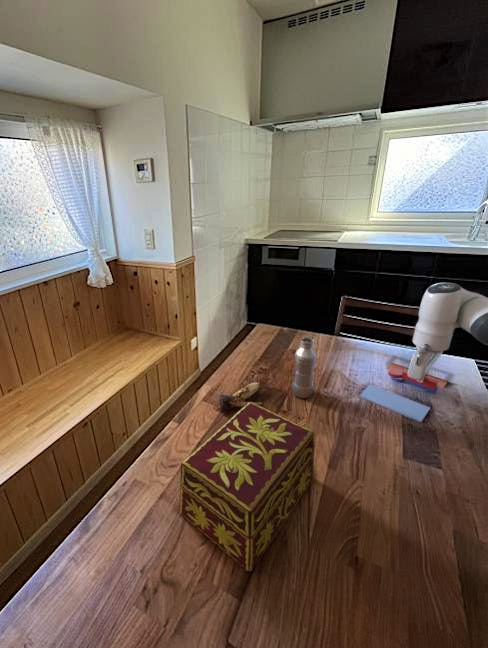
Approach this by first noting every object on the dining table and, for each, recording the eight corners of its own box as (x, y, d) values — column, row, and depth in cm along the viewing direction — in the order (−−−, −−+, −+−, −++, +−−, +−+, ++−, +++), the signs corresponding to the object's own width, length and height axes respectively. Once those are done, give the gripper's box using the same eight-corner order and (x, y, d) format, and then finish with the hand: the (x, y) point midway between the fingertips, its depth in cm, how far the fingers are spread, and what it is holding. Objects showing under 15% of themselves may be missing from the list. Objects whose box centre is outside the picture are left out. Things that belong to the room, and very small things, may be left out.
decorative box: (250, 574, 62) (251, 521, 56) (178, 513, 74) (173, 463, 68) (314, 478, 80) (320, 429, 74) (248, 441, 92) (249, 397, 86)
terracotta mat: (450, 377, 112) (451, 376, 112) (443, 388, 107) (444, 386, 107) (394, 359, 124) (395, 358, 124) (386, 368, 119) (386, 367, 119)
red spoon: (437, 385, 101) (439, 379, 100) (433, 391, 99) (435, 385, 98) (390, 369, 110) (392, 363, 109) (385, 375, 108) (387, 368, 107)
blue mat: (429, 409, 99) (430, 407, 99) (421, 422, 94) (421, 421, 94) (369, 385, 111) (370, 384, 111) (359, 396, 106) (359, 395, 106)
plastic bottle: (292, 399, 107) (296, 344, 99) (291, 387, 113) (295, 334, 104) (313, 402, 105) (320, 346, 97) (311, 389, 111) (317, 335, 103)
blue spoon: (438, 389, 107) (439, 383, 106) (434, 395, 104) (436, 389, 103) (393, 374, 116) (394, 368, 115) (389, 379, 114) (390, 373, 113)
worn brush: (233, 425, 99) (273, 398, 108) (233, 413, 97) (274, 386, 106) (212, 408, 105) (252, 384, 115) (212, 397, 103) (252, 373, 113)
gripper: (433, 356, 88) (422, 399, 94) (454, 329, 100) (443, 368, 106) (406, 348, 93) (397, 389, 98) (429, 323, 105) (420, 361, 110)
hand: (421, 378), depth 102 cm, fingers closed on red spoon, 1 cm apart
